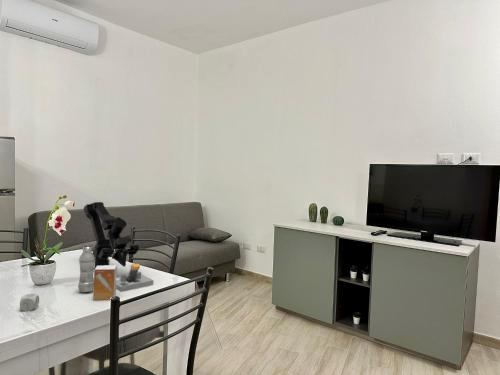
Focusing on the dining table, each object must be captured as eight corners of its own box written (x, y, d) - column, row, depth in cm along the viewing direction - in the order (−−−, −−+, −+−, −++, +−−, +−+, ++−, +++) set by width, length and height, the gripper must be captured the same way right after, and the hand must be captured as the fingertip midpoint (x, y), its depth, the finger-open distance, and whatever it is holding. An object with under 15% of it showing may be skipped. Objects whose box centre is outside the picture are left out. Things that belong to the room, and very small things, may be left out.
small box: (93, 300, 142) (93, 269, 141) (96, 295, 148) (97, 265, 148) (113, 299, 144) (114, 268, 143) (116, 294, 150) (117, 264, 150)
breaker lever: (125, 279, 164) (131, 264, 160) (133, 278, 166) (138, 263, 162) (127, 283, 162) (133, 267, 158) (134, 281, 165) (140, 266, 161)
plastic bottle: (90, 288, 157) (92, 244, 156) (96, 292, 152) (97, 247, 151) (75, 291, 152) (76, 246, 151) (81, 295, 147) (82, 248, 146)
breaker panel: (107, 283, 163) (107, 273, 163) (139, 277, 175) (139, 267, 174) (120, 291, 153) (121, 280, 153) (153, 284, 165) (153, 273, 165)
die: (19, 311, 128) (19, 298, 128) (24, 306, 133) (25, 293, 133) (34, 310, 130) (34, 297, 129) (39, 305, 134) (39, 293, 134)
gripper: (102, 232, 165) (111, 259, 158) (138, 228, 178) (148, 254, 171) (95, 245, 171) (103, 272, 164) (130, 241, 184) (140, 266, 177)
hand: (124, 266), depth 169 cm, fingers closed
